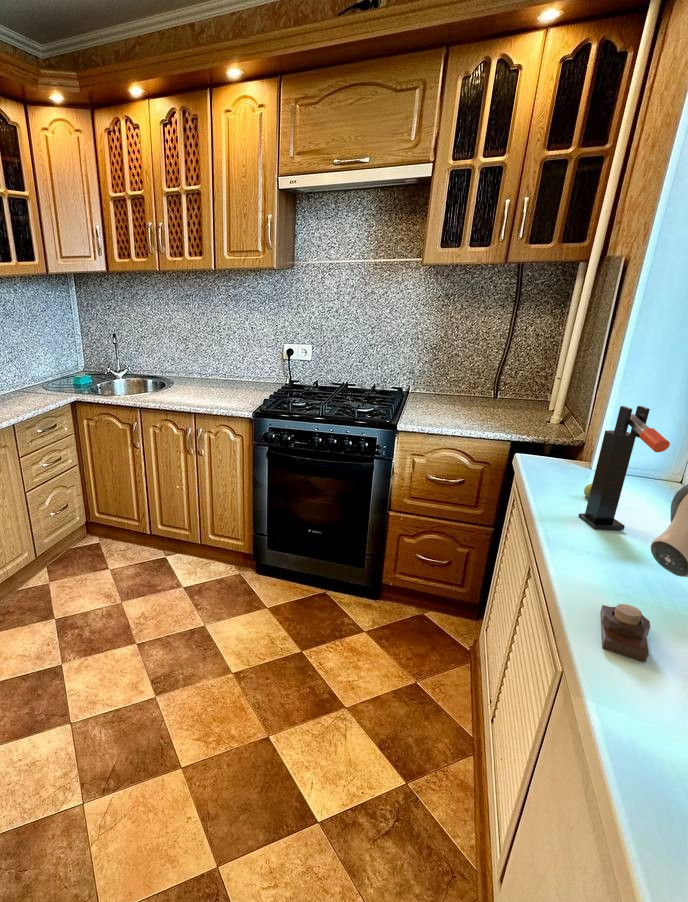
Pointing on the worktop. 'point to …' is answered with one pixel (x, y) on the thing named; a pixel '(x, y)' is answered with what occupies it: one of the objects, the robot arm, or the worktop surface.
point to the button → (627, 614)
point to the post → (612, 472)
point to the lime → (587, 490)
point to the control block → (624, 635)
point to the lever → (649, 435)
